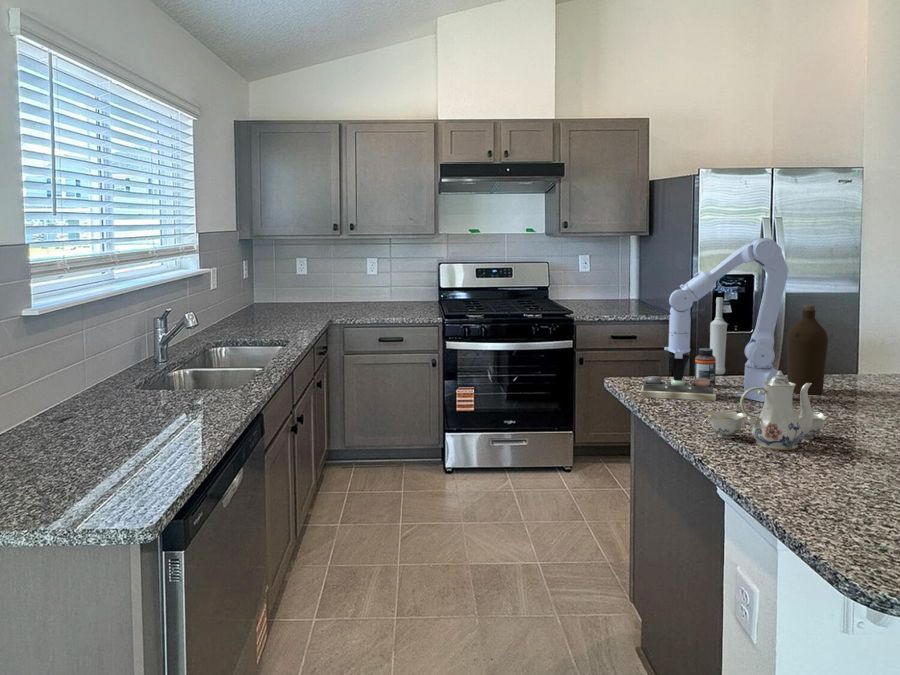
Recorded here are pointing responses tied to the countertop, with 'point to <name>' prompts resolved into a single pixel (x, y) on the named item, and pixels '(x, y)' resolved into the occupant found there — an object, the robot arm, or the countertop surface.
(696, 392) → the panel
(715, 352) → the bottle
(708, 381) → the button terracotta
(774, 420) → the chinaware
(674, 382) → the button sage
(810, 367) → the olive oil
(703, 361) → the supplement bottle
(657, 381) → the button charcoal
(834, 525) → the countertop surface
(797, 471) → the countertop surface
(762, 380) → the robot arm
